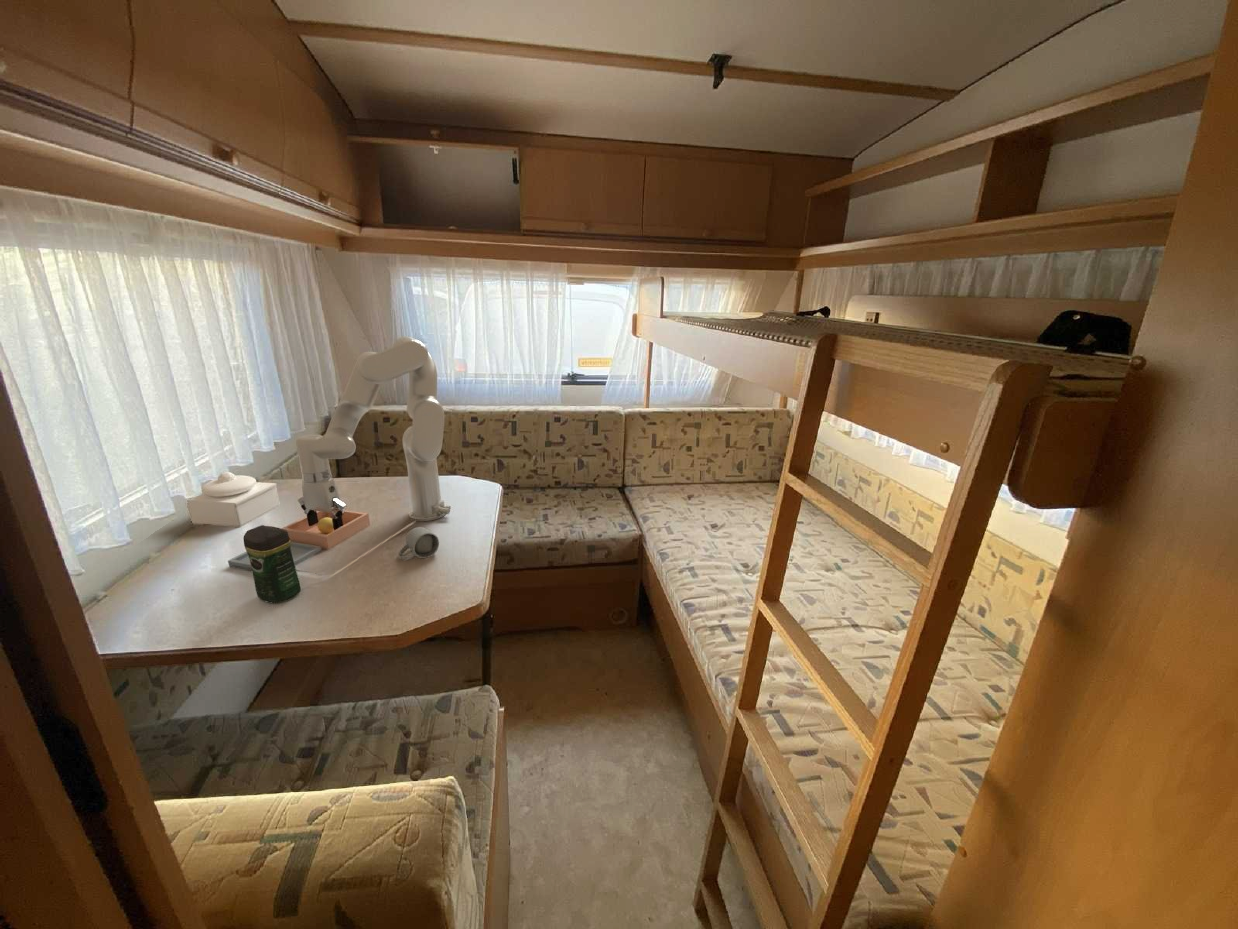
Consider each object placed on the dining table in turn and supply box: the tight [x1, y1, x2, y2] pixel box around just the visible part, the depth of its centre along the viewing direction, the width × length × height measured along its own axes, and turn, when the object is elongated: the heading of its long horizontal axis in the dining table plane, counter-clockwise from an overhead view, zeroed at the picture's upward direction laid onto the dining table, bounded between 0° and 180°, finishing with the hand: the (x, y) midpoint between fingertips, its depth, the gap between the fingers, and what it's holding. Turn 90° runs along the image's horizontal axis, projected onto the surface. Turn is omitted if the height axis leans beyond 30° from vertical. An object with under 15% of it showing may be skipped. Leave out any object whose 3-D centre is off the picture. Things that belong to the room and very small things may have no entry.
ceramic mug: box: [397, 526, 440, 561], centre depth 147 cm, size 11×8×8 cm
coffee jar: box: [243, 524, 302, 604], centre depth 125 cm, size 10×8×19 cm
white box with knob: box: [186, 471, 281, 528], centre depth 170 cm, size 18×18×16 cm
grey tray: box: [227, 541, 323, 572], centre depth 144 cm, size 18×14×2 cm
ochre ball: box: [317, 517, 334, 533], centre depth 158 cm, size 5×5×5 cm
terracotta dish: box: [281, 508, 371, 550], centre depth 158 cm, size 17×17×5 cm
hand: (326, 526), depth 158 cm, fingers open, 9 cm apart
